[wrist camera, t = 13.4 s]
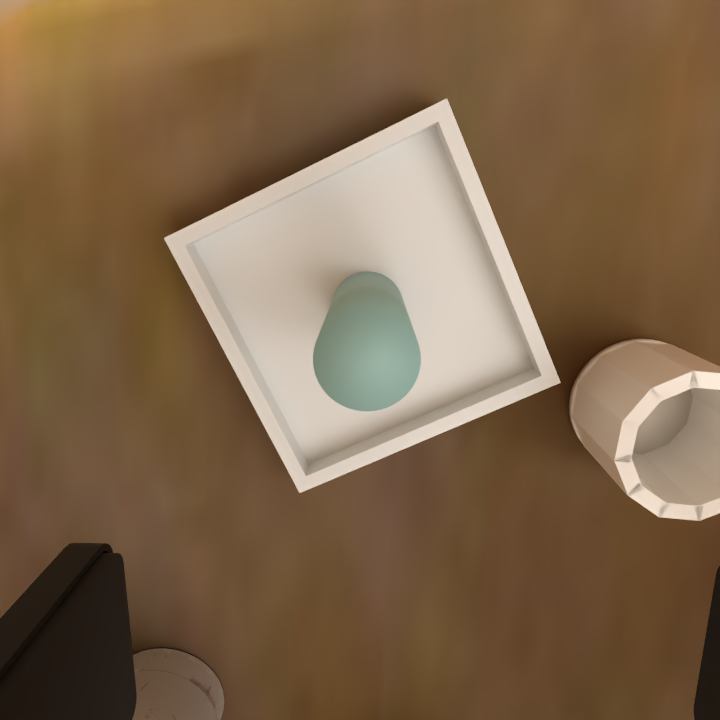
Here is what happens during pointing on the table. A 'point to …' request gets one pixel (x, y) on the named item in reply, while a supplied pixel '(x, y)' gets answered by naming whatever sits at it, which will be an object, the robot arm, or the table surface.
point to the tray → (368, 254)
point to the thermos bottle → (175, 687)
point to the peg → (367, 345)
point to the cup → (653, 425)
